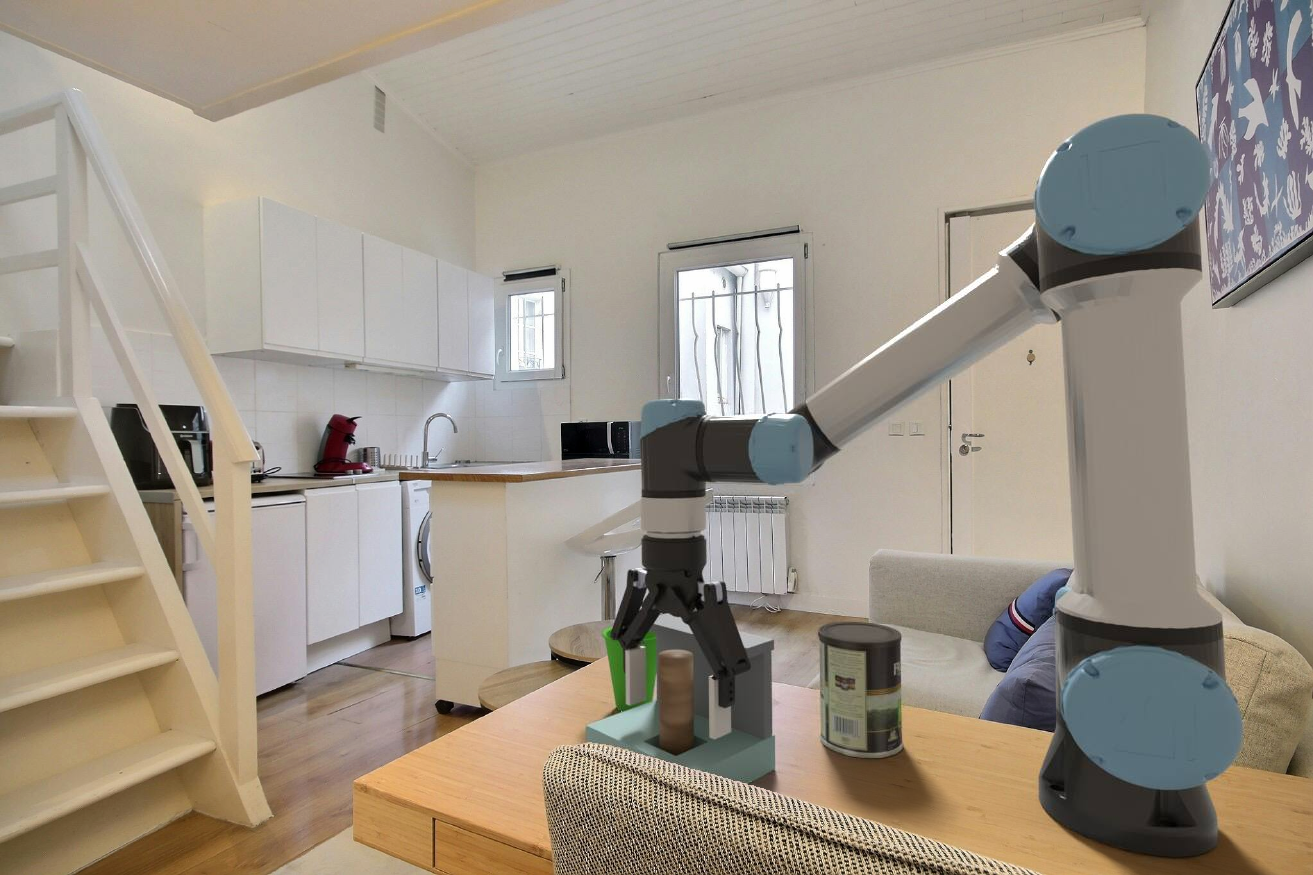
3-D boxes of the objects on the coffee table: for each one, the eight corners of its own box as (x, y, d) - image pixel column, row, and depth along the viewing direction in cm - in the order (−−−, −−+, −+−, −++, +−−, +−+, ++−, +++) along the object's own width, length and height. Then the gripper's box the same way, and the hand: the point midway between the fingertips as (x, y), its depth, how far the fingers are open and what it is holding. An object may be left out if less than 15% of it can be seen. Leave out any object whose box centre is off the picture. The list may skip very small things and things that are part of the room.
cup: (665, 719, 97) (664, 640, 97) (599, 720, 97) (599, 640, 97) (665, 696, 106) (664, 623, 106) (605, 696, 106) (604, 623, 106)
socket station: (775, 769, 82) (773, 639, 82) (693, 813, 72) (692, 666, 72) (667, 725, 95) (666, 613, 95) (586, 758, 85) (585, 633, 85)
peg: (701, 776, 80) (700, 654, 80) (677, 788, 77) (675, 662, 77) (676, 765, 83) (675, 647, 83) (652, 776, 80) (651, 654, 80)
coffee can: (896, 727, 93) (895, 622, 93) (908, 762, 83) (907, 644, 83) (818, 722, 95) (816, 619, 95) (820, 755, 85) (819, 640, 85)
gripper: (781, 539, 74) (784, 739, 74) (626, 522, 92) (628, 683, 92) (736, 547, 69) (738, 762, 69) (581, 527, 87) (583, 697, 87)
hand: (675, 717), depth 80 cm, fingers open, 13 cm apart
